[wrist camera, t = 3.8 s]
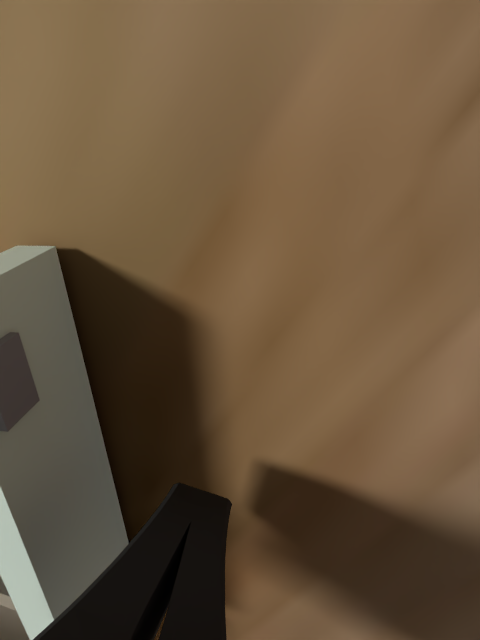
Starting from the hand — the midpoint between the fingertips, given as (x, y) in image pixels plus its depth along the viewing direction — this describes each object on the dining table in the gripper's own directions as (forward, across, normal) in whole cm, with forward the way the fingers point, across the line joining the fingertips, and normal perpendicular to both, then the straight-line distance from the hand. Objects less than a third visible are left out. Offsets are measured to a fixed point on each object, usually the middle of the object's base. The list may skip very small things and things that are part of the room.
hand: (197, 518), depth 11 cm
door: (+2, +4, 0) cm, 4 cm away
